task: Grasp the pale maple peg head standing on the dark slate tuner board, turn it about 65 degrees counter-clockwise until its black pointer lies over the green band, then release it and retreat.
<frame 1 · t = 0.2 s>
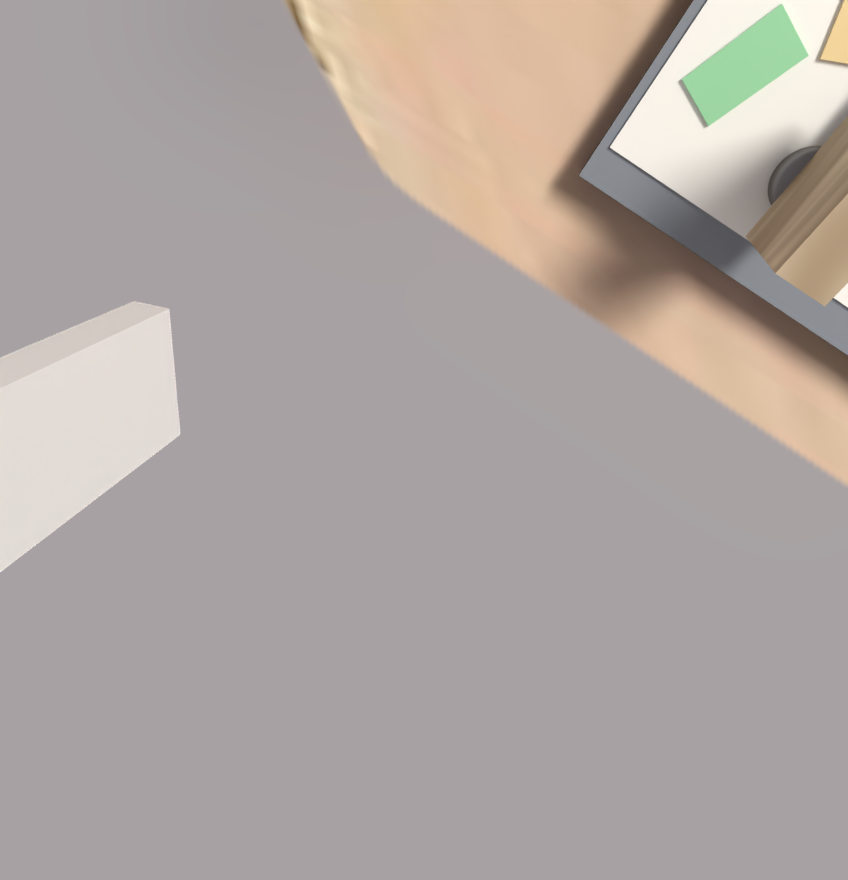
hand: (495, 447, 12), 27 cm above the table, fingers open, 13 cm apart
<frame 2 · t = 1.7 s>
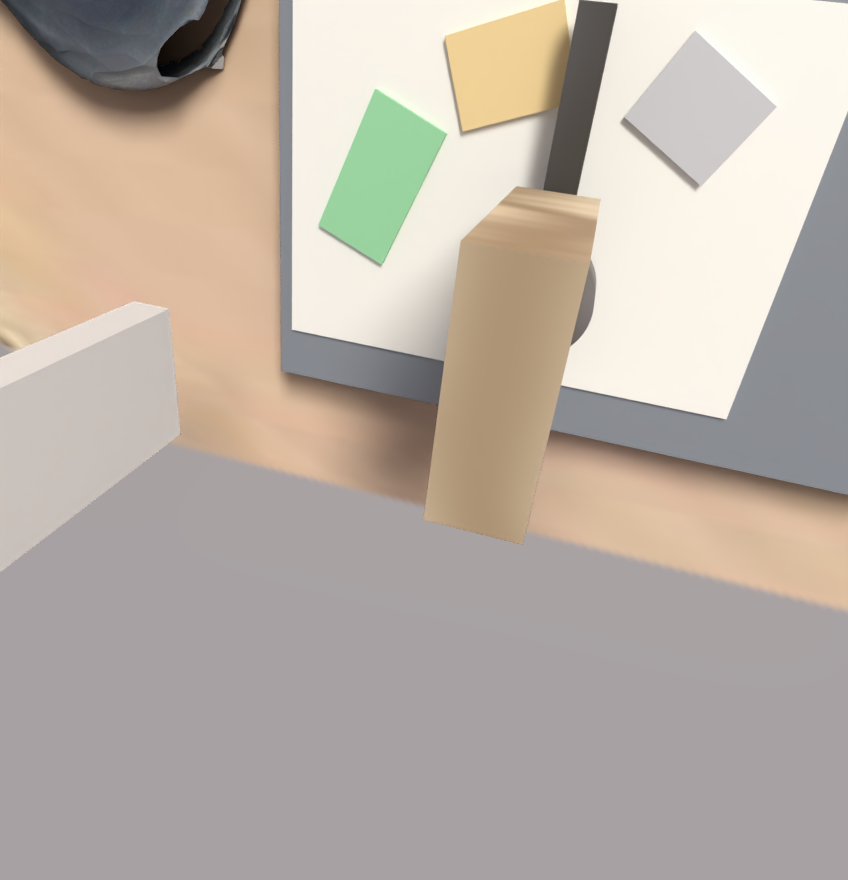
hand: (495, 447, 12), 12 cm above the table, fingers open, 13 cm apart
peg: (541, 248, 15), point 7 cm above the table, hinge at 0.0°
tuner board: (622, 232, 21), on the table
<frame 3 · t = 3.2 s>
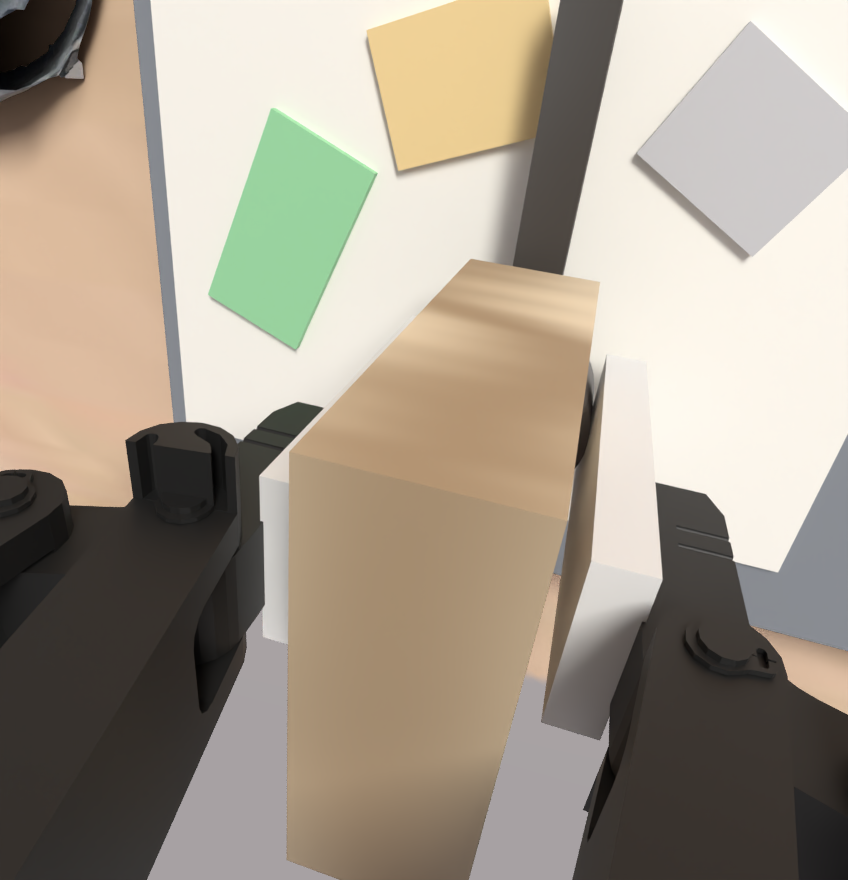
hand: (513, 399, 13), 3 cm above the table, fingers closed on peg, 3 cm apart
peg: (500, 373, 9), point 7 cm above the table, hinge at 0.0°, touching gripper
tuner board: (631, 308, 15), on the table
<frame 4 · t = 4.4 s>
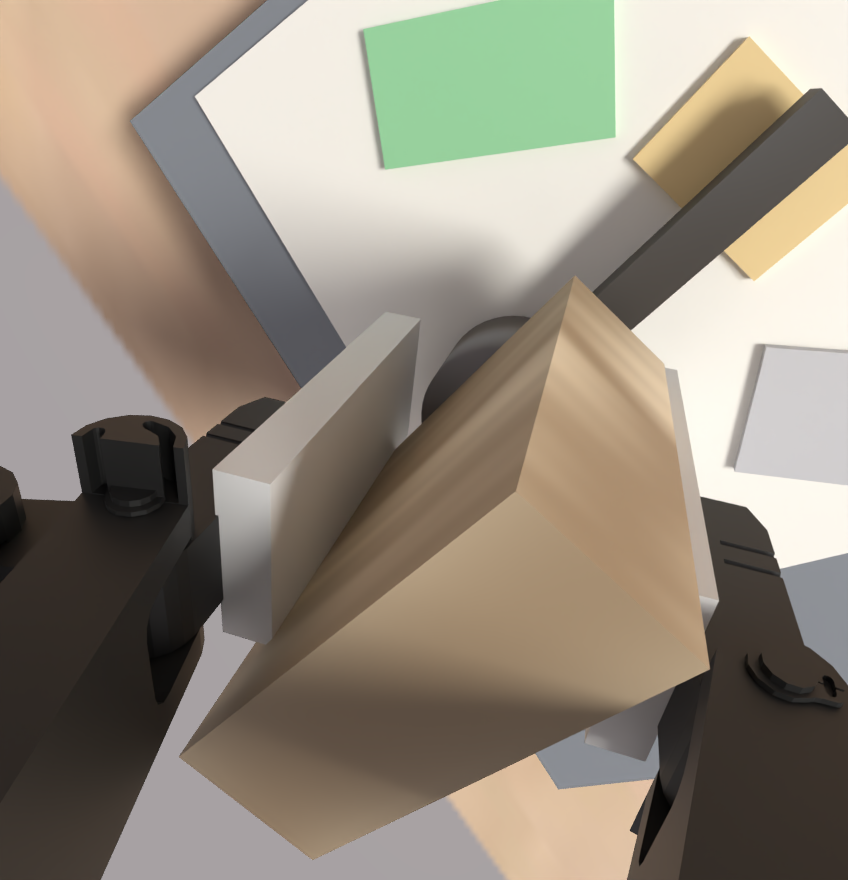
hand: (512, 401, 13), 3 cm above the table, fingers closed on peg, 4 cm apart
peg: (570, 413, 9), point 7 cm above the table, hinge at 19.3°, touching gripper
tuner board: (616, 397, 16), on the table
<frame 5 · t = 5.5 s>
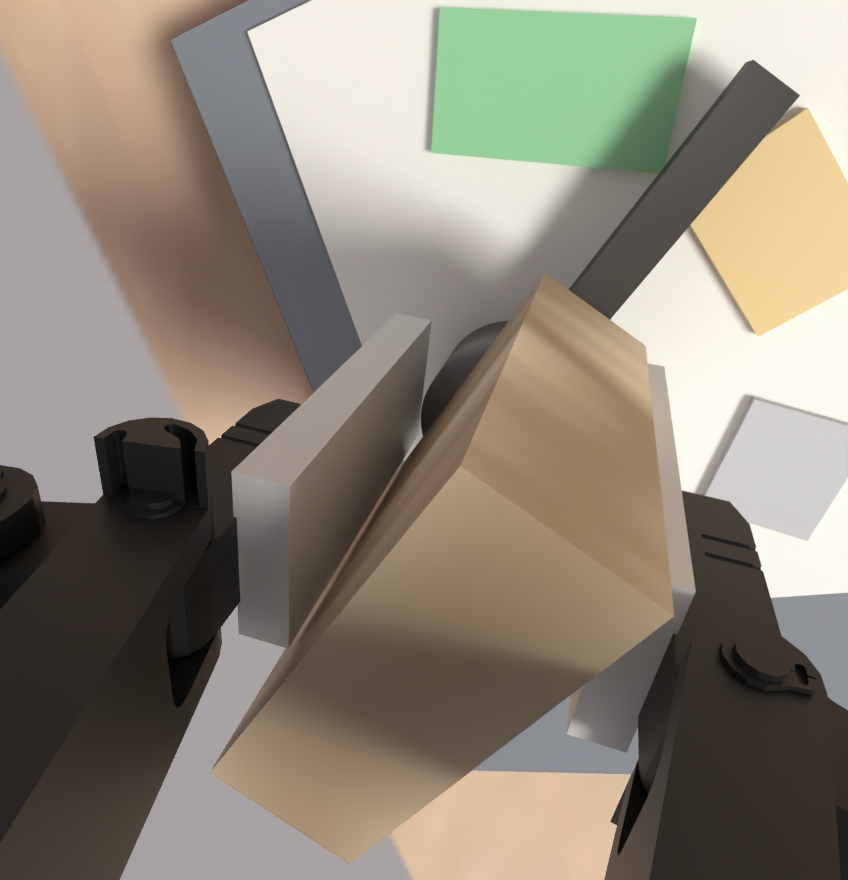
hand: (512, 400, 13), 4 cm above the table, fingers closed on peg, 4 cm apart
peg: (551, 402, 10), point 7 cm above the table, hinge at 39.5°, touching gripper
tuner board: (599, 416, 17), on the table
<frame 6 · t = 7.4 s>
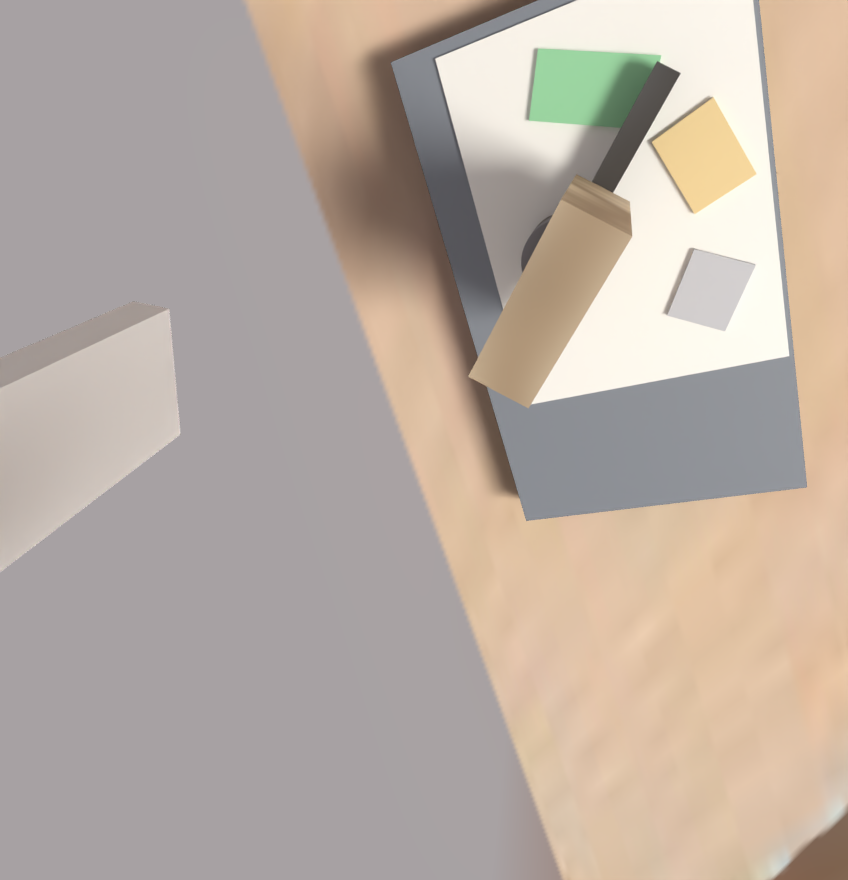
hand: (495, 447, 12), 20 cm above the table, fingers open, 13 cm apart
peg: (587, 221, 22), point 7 cm above the table, hinge at 47.8°
tuner board: (612, 276, 29), on the table
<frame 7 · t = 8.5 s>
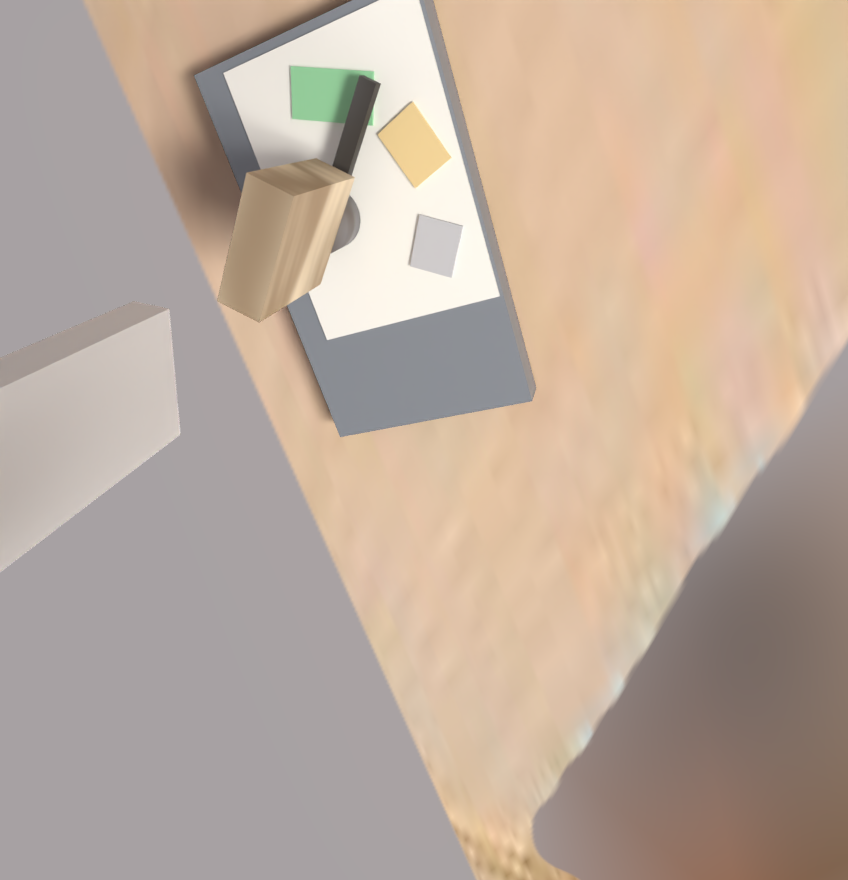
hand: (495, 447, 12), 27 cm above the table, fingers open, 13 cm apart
peg: (309, 191, 31), point 7 cm above the table, hinge at 48.9°
tuner board: (382, 239, 38), on the table
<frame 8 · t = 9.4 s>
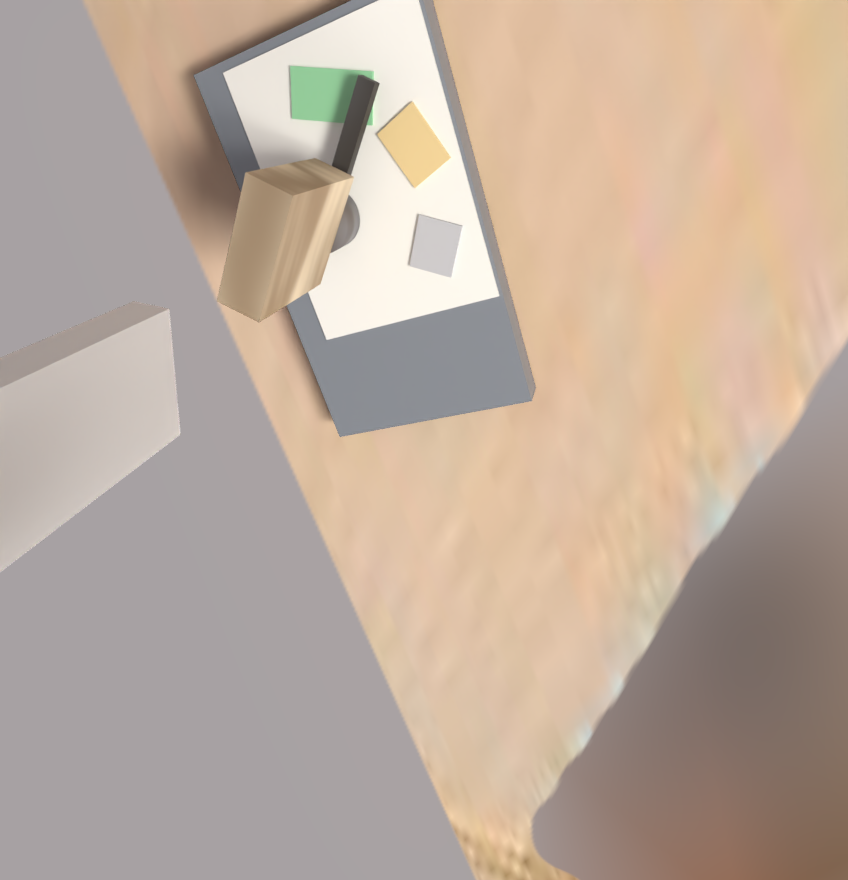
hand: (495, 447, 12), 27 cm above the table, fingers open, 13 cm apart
peg: (309, 191, 31), point 7 cm above the table, hinge at 49.2°
tuner board: (382, 238, 38), on the table
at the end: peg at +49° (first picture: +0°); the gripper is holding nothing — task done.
